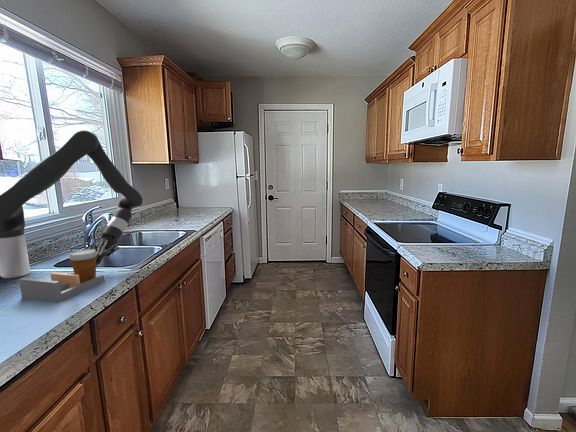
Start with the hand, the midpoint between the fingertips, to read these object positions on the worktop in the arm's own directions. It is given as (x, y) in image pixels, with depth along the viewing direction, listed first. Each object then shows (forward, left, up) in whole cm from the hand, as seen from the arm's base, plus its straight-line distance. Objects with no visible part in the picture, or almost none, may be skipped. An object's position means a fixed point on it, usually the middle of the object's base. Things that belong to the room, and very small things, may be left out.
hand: (95, 264), depth 125 cm
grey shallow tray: (0, -13, -5) cm, 14 cm away
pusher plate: (0, -14, -5) cm, 15 cm away
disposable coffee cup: (0, -5, -6) cm, 7 cm away
